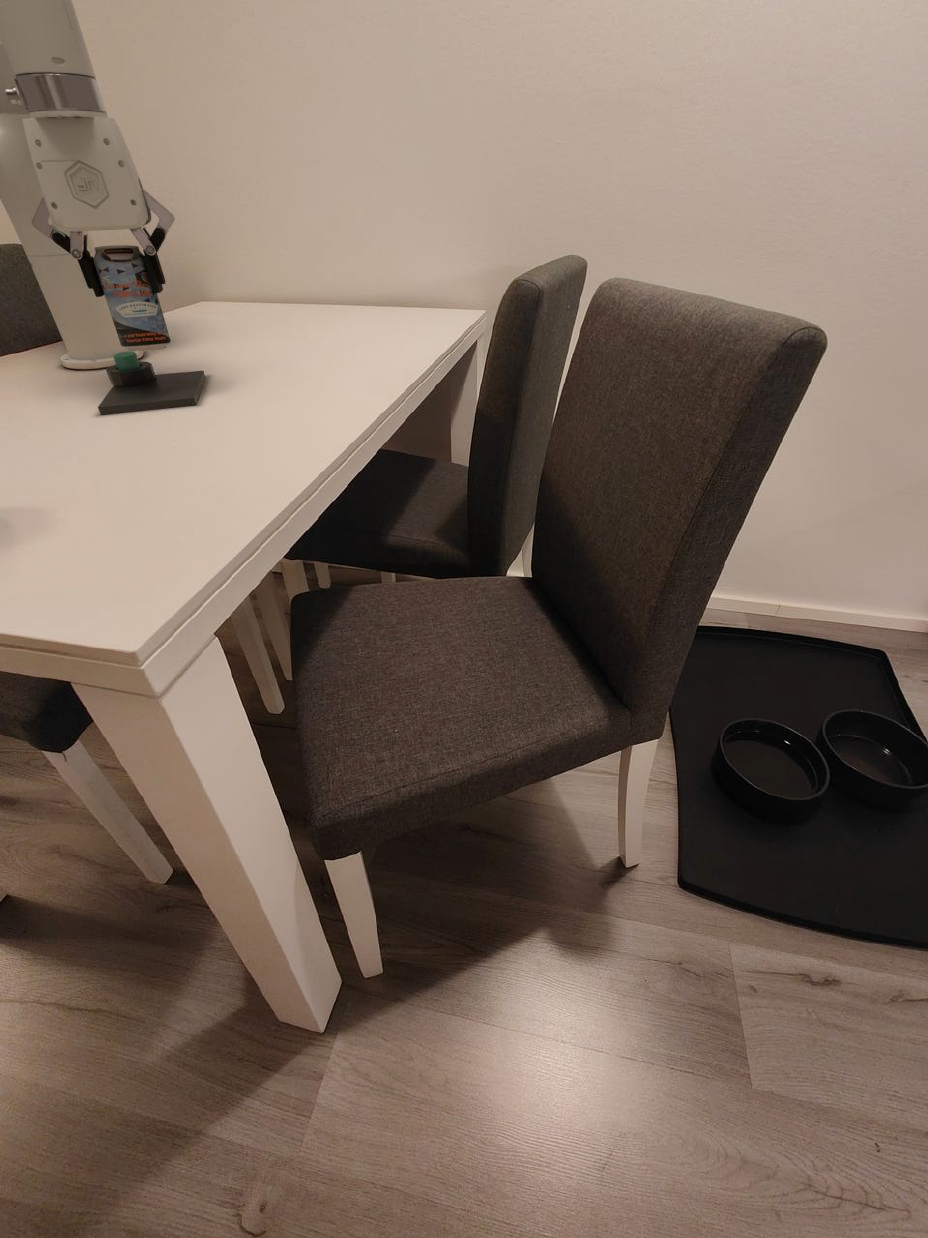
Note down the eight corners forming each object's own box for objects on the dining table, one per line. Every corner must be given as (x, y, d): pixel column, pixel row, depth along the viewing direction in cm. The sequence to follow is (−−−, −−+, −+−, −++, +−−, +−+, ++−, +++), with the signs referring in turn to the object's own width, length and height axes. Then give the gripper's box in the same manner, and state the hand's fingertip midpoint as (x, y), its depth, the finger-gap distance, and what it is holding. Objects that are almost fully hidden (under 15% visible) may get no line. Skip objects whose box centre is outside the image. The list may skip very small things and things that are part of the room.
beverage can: (123, 360, 72) (81, 248, 65) (125, 347, 78) (87, 243, 70) (176, 353, 74) (141, 245, 67) (174, 342, 80) (142, 240, 72)
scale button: (120, 367, 83) (115, 352, 82) (142, 365, 84) (137, 350, 82) (116, 372, 81) (110, 357, 80) (139, 370, 81) (133, 355, 80)
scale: (119, 384, 86) (111, 363, 84) (205, 376, 88) (199, 355, 86) (96, 415, 75) (87, 391, 73) (196, 405, 77) (189, 382, 75)
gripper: (-41, 98, 56) (46, 303, 67) (145, 97, 59) (199, 293, 71) (-12, 105, 62) (64, 293, 73) (156, 104, 65) (204, 284, 76)
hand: (130, 291), depth 72 cm, fingers closed on beverage can, 6 cm apart
